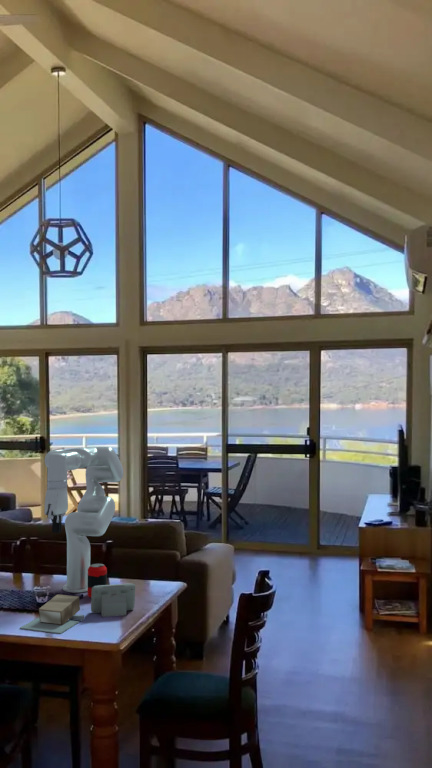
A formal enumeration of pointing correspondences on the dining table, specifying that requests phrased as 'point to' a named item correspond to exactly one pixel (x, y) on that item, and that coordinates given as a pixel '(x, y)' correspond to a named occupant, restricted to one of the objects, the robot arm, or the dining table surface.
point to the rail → (77, 617)
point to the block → (59, 609)
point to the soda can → (96, 576)
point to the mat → (49, 626)
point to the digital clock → (112, 599)
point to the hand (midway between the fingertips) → (56, 532)
